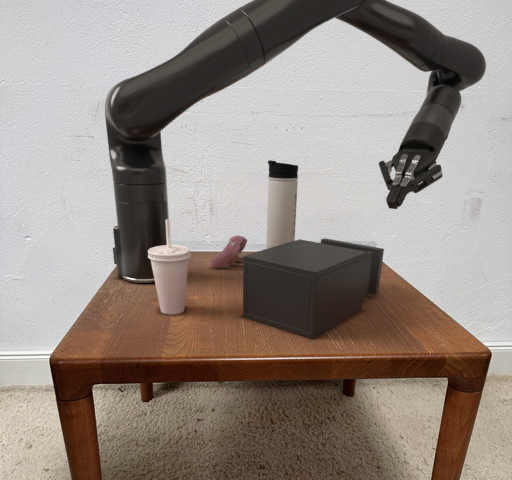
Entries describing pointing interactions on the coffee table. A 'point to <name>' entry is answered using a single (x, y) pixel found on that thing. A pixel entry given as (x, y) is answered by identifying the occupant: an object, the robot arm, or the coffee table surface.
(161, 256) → the smoothie
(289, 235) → the travel mug
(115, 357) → the coffee table surface
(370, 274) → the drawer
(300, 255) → the dark grey lidded box
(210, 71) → the robot arm
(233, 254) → the pink rounded figure
